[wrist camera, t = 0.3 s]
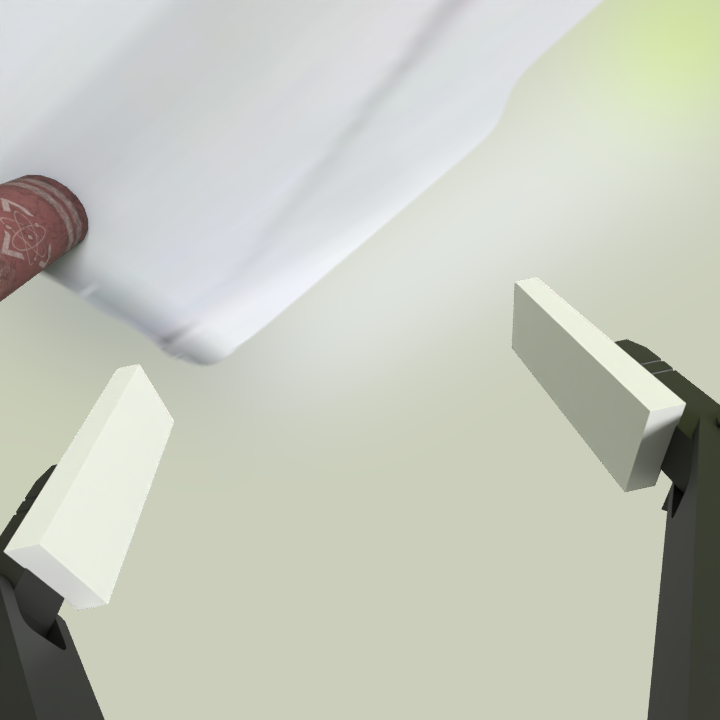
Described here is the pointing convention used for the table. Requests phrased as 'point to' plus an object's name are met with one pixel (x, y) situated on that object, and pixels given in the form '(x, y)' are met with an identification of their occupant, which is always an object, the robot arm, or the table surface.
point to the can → (36, 228)
